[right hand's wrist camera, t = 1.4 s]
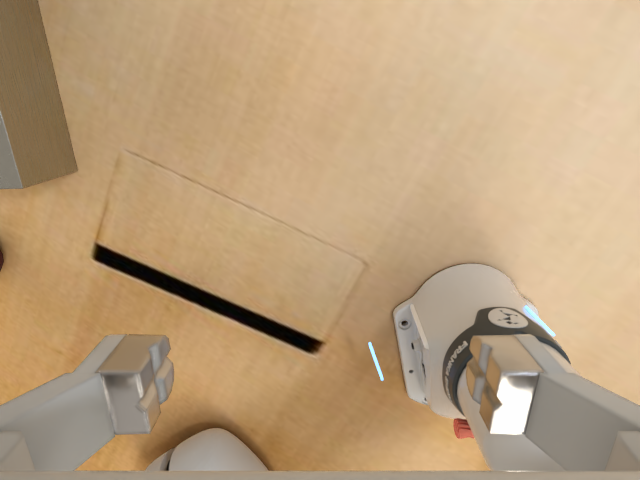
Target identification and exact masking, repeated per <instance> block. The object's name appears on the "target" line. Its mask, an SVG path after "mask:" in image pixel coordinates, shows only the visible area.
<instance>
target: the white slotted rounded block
mask: <svg viewBox="0 0 640 480" xmlns="http://www.w3.org/2000/svg"><path fill="white" fill-rule="evenodd" d="M145 471H269V470H268V469H267V468H266V466H265V465H264V464H263V463H262V462H261V460H260V459H259V458H258V457H257V456H256V455H255V454H254V453H253V452H252V451H251V450H250V449H249V448H248V447H247V446H246V445H245V444H244V443H243V442H242V441H241V440H239V439H238V438H237V437H236V436H234V435H233V434H232V433H230V432H228V431H227V430H224V429H221V428H211V429H207V430H204V431H201V432H199V433H197V434H195V435H193V436H192V437H190V438H188V439H186V440H185V441H183V442H181V443H180V444H179V445H178V446H177V447H174V448H172V449H170V450H169V451H167V452H165V453H164V454H162V455H161V456H159V457H158V458H157V459H155V460H154V461H153V462H152V463H151V464H150V465H149V466H148V467H147V468H146V470H145Z"/></svg>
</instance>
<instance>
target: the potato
mask: <svg viewBox="0 0 640 480" xmlns="http://www.w3.org/2000/svg"><path fill="white" fill-rule="evenodd" d="M3 262H4V260H3V254H2V252H1V251H0V270H1V268H2V265H3Z"/></svg>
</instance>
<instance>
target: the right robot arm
mask: <svg viewBox="0 0 640 480" xmlns="http://www.w3.org/2000/svg"><path fill="white" fill-rule="evenodd" d="M393 318H394V323H395V329H396V335H397V341H398V346H399V352H400V358H401V364H402V370H403V375H404V381H405V387H406V391H407V394H408V396H409V398H411V399H412V400H414V401H416V402H419V403H422V404H425V405H429V407H430V409H431V410H432V411H433V412H434V413H436V414H438V415H440V416H443V417H446V418H451V419H454V431H455V435H456V437H457V438H458V439H462V438H467V437H471V438H475V440H476V442H477V444H478V447H479V449H480V451H481V453H482V456H483V458H484V460H485V462H486V464H487V466H488V468H489V469H490V470H491V471H74V470H75V469H77V468H78V467H79V466H80V465H81V464H83V463H84V462H85V461H86V460H87V459H89V458H90V457H91V456H92V455H93V454H95V453H96V452H97V451H98V450H99V449H101V448H102V447H103V446H104V445H105V444H107V443H108V442H109V441H110V440H111V439H113V438H114V437H115V435H118V434H150V433H151V431H152V429H153V427H154V425H155V423H156V421H157V419H158V417H159V415H160V413H161V411H160V404H162V403H163V402H164V401H166V400H167V399H168V397H169V395H170V393H171V391H172V386H173V382H174V367H173V363H172V362H171V360H170V359H169V358H168V357H167V355H168V353H169V351H170V349H171V348H170V343H169V338H168V337H167V336H166V335H131V334H129V335H127V334H111V335H107V336H105V337H104V338H103V339H102V341H101V342H100V343H99V344H98V345H97V346H96V347H95V348H94V349H93V351H92V352H91V353H90V354H89V355H88V356H87V357H86V358H85V359H84V361H83V362H82V363H81V364H80V365H79V366H78V367H77V368H76V369H75V371H74V372H73V373H65V374H63V375H61V376H59V377H57V378H55V379H53V380H51V381H49V382H47V383H45V384H43V385H41V386H39V387H37V388H35V389H33V390H31V391H29V392H27V393H25V394H23V395H21V396H19V397H17V398H15V399H13V400H11V401H9V402H6V403H4V404H2V405H0V480H640V406H639V405H637V404H635V403H633V402H631V401H629V400H627V399H625V398H623V397H621V396H619V395H617V394H615V393H613V392H611V391H609V390H607V389H605V388H603V387H601V386H599V385H597V384H595V383H593V382H591V381H589V380H587V379H585V378H583V377H582V376H581V375H580V374H579V373H578V372H577V371H576V370H575V369H574V368H573V367H572V366H571V363H570V361H569V358H568V357H567V355H566V353H565V352H564V351H563V350H562V349H561V348H562V347H561V346H560V345H559V344H558V342H557V341H556V340H554V339H553V338H552V336H555V334H554V333H553V332H552V331H551V330H550V329H549V328H548V327H547V326H546V325H545V324H544V323H543V322H542V321H541V320H540V319H539V318H538V310H537V309H536V307H535V306H534V305H533V304H532V303H531V302H530V301H528V300H527V299H525V298H524V297H522V296H521V295H520V294H519V292H518V291H517V289H516V288H515V286H514V284H513V283H512V281H511V280H510V279H509V278H508V277H507V276H506V275H505V274H504V273H502V272H501V271H499V270H497V269H495V268H493V267H490V266H487V265H483V264H461V265H456V266H452V267H449V268H447V269H444V270H442V271H440V272H438V273H437V274H435V275H434V276H432V277H431V278H430V279H429V280H427V281H426V282H425V283H424V284H423V285H422V287H421V288H420V289H419V290H418V291H417V293H416V294H415V295H414V296H413V297H412V298H410V299H408V300H407V301H405V302H403V303H401V304H400V305H398V306H397V307H396V308H395V309H394V311H393ZM402 321H406V323H402ZM549 333H550V334H551V335H552V336H551V335H550V334H549ZM369 348H370V350H371V353H372V356H373V359H374V362H375V364H376V367H377V370H378V373H379V376H380V378H381V381H382V380H383V375H382V372H381V370H380V367H379V364H378V361H377V358H376V356H375V353H374V350H373V347H372V344H371V342H369ZM425 397H426V398H425Z"/></svg>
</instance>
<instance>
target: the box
mask: <svg viewBox="0 0 640 480" xmlns="http://www.w3.org/2000/svg"><path fill="white" fill-rule="evenodd" d="M77 171H78V170H77V166H76V162H75V157H74V153H73V149H72V145H71V140H70V136H69V132H68V128H67V124H66V119H65V115H64V111H63V107H62V102H61V98H60V94H59V90H58V86H57V81H56V77H55V73H54V69H53V65H52V60H51V56H50V52H49V48H48V43H47V39H46V35H45V31H44V27H43V22H42V18H41V14H40V10H39V5H38V1H37V0H0V189H23V188H26V187H29V186H32V185H36V184H39V183H42V182H45V181H48V180H51V179H55V178H58V177H61V176H64V175H67V174H70V173H74V172H77Z"/></svg>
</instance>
